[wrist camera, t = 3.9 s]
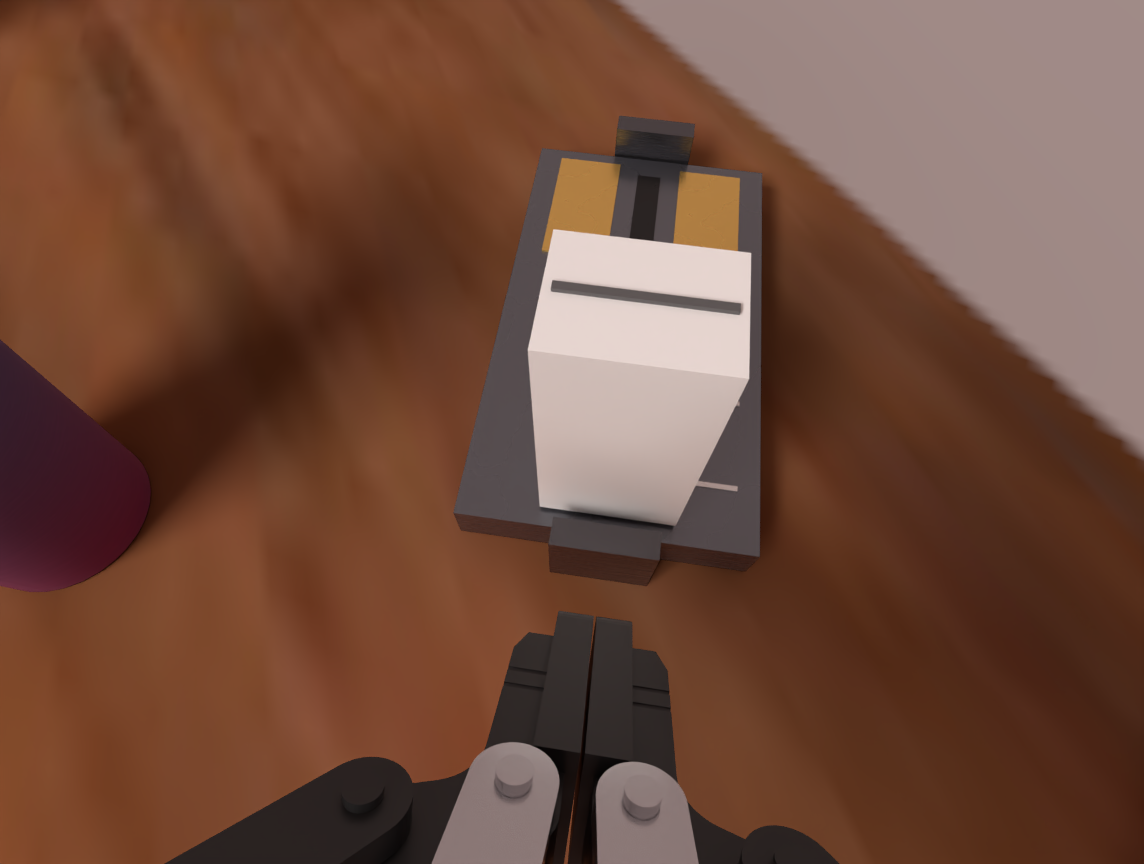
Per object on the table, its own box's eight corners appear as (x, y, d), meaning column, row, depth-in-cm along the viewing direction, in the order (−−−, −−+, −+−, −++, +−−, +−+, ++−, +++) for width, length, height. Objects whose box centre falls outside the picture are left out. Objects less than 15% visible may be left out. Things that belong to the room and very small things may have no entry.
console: (744, 600, 19) (772, 577, 17) (454, 557, 20) (439, 528, 17) (751, 189, 27) (770, 132, 25) (546, 165, 28) (545, 107, 25)
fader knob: (675, 525, 18) (750, 376, 11) (539, 506, 19) (527, 346, 11) (682, 434, 20) (752, 249, 13) (555, 417, 20) (553, 225, 13)
